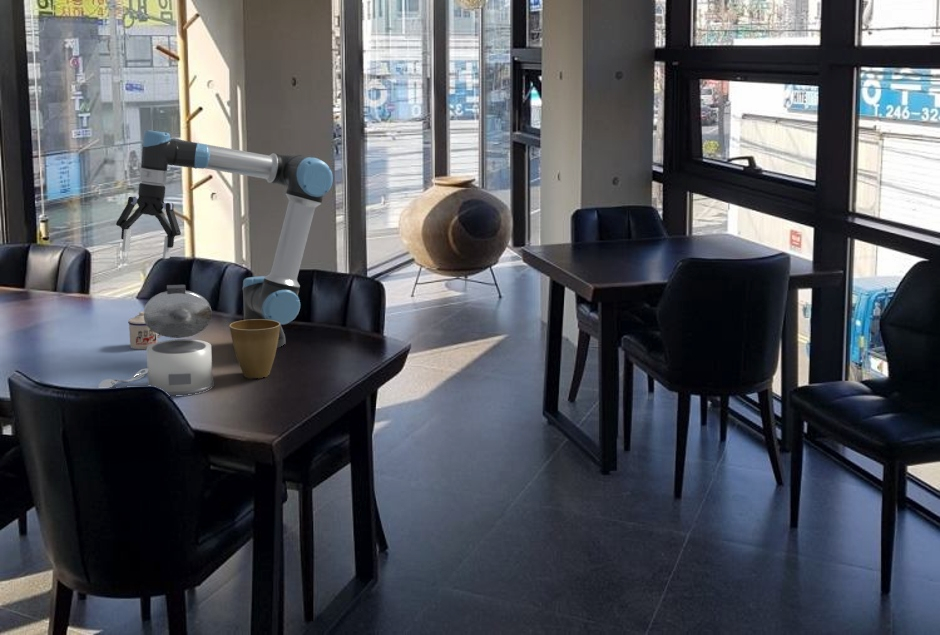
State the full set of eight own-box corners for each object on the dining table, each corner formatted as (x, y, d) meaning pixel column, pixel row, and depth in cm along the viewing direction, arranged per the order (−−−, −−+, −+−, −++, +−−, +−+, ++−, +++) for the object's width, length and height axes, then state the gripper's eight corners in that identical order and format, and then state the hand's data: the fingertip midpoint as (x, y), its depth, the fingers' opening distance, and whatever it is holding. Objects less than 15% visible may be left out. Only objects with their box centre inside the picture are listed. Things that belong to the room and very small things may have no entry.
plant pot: (291, 375, 332) (290, 324, 329) (251, 385, 322) (250, 332, 318) (261, 366, 342) (259, 316, 338) (221, 375, 331) (219, 323, 328)
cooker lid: (212, 336, 328) (212, 332, 329) (210, 287, 312) (210, 283, 313) (146, 339, 323) (146, 335, 324) (141, 289, 308) (141, 285, 309)
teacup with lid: (135, 351, 357) (133, 316, 354) (125, 345, 364) (123, 311, 361) (170, 346, 364) (169, 312, 361) (160, 340, 371) (159, 306, 368)
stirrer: (139, 361, 332) (152, 363, 330) (141, 372, 333) (153, 374, 331) (94, 382, 314) (107, 384, 313) (95, 394, 315) (108, 396, 314)
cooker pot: (213, 376, 330) (211, 337, 327) (214, 394, 312) (212, 353, 310) (148, 379, 326) (146, 340, 323) (146, 398, 308) (144, 357, 305)
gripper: (108, 177, 324) (102, 248, 327) (183, 189, 318) (176, 262, 322) (122, 177, 331) (116, 247, 335) (196, 189, 325) (189, 260, 329)
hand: (145, 254), depth 328 cm, fingers open, 13 cm apart
